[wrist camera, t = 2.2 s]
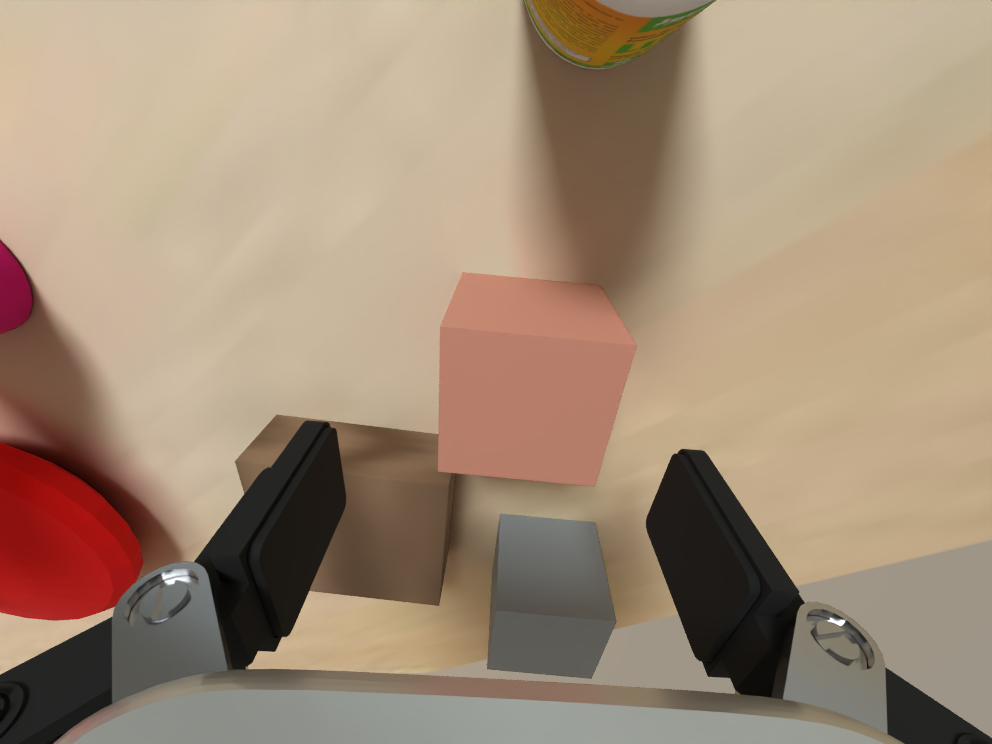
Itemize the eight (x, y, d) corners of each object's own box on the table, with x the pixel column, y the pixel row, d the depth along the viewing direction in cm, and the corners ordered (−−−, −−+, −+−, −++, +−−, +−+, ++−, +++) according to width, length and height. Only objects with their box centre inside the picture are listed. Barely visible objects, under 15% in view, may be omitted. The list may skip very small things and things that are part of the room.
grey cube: (595, 521, 25) (616, 621, 19) (577, 578, 28) (591, 678, 22) (500, 512, 25) (496, 610, 19) (492, 570, 28) (487, 669, 22)
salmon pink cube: (599, 285, 17) (636, 345, 12) (574, 398, 20) (594, 486, 15) (463, 271, 17) (440, 326, 12) (457, 387, 20) (437, 471, 15)
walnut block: (459, 433, 22) (448, 486, 18) (448, 546, 27) (439, 605, 23) (280, 410, 22) (235, 461, 18) (303, 529, 27) (271, 586, 23)
